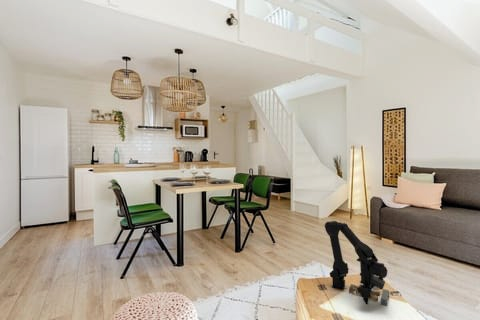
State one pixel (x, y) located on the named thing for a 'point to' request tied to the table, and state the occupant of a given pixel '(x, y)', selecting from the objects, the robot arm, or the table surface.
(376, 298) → the bar
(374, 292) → the base
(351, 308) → the table surface
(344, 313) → the table surface
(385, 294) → the grey bracket bar
